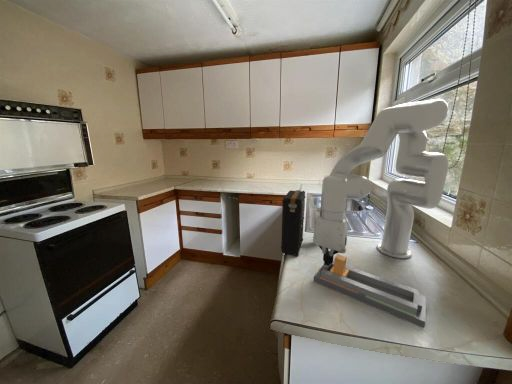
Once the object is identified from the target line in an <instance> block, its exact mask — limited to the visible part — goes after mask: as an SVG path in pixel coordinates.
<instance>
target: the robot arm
mask: <svg viewBox="0 0 512 384" xmlns="http://www.w3.org/2000/svg"><path fill="white" fill-rule="evenodd" d="M448 115H449V104H448V103H447V101H445V100H444V99H441V98H436V99H430V100H429V99H428V100H421V101H413V102H408V103H407V102H406V103H402V104H397V105H395V106H391V107H390V106H389V107H387V108H383V109H382V110H380V111H379V112H378V114H377V115H376V116H375V118H374V120H373V122H372V123H371V125H370V127H369V128H368V130H367V131H366V134H365V135H364V137H363V139H362V141H361V142H360V143H359V144H358V145H357V146H355V147H353V148H352V149H351V150H349V151H348V152H347V153H345V154H344V155H343V156H342V157H340V159H339V160H337V162H335V163H336V164H335V165H334V166H333V169H332V170H331V171H330V173H329V175H328V176H325V177H324V178H323V180H322V186H321V197H320V199H321V200H320V207H316V209H315V210H316V212H318V213H319V214H318V215H317V217H316V221H315V225H314V229H313V230H314V231H313V236H312V241H313V244H314V245H315V246H317V247H319V249H320V250H321V253H322V254H323V257H322V260H323V264H324V265H327V266H329V265H330V264H332V263H333V261H334V258H335V257H334V256H335V255H337V254H346V252H347V249H346V246H347V241H348V226H347V225H348V224H347V219H346V218H345V215H346V205H347V200H348V199H349V200H353V199H354V200H360V199H364V198H365V197H367V196H368V195H369V194H370V193H371V191H372V189H373V188H372V187H373V186H372V183H371V180H370V179H369V178H367V177H366V176H363V175H359V174H353V173H350V172H351V171H352V170H354V169H355V168H356V167H358V166H359V165H363V164H365V163H368V162H372V161H374V160H375V161H376V160H378V159H380V158H383V157H384V156H385V155H386V154H387V152H388V151H389V150H390V147H391V145H392V144H393V142H394V141H395V139H396V137H397V135H398V138H399V141H398V142H399V143H398V150H397V157H396V162H395V171H396V172H397V173H398V174H399V175H401V176H405V177H413V178H418V179H419V178H420V179H424V181H420V180H416V179H409V178H395V179H392V180H391V181H389V183H388V185H387V188H386V195H387V206H386V207H387V208H386V213H385V214H386V215H385V220H384V227H383V232H382V233H383V234H382V240H381V241H380V242H378V243H377V245H376V248H377V249H378V251H379V252H381V253H382V254H383V255H386V256H388V257H391V258H395V259H408V258H411V257H412V254H413V252H412V251H411V249H410V248H409V245H410V240H411V239H410V238H411V234H412V228H413V224H414V218H415V211H414V208H413V206H415V207H418V208H422V209H428V210H431V209H435V208H437V207H438V206H439V204H440V203H441V200H442V197H443V193H444V189H445V184H446V179H447V177H448V176H447V175H448V171H449V170H448V169H449V158H448V157H447V156H446V155H445V154H444V153H440V152H433V151H432V152H431V151H430V152H429V151H427V150H426V149H427V143H428V136H427V133H426V131H427V130H430V129H432V128H436V127H438V126H440V125H441V124H442V123H443V122H445V121H446V119H447V117H448Z"/></svg>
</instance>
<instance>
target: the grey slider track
mask: <svg viewBox="0 0 512 384" xmlns="http://www.w3.org/2000/svg"><path fill="white" fill-rule="evenodd" d="M333 266H334V260H333V263H332V264H330V265H329V266H327V265H324V263H323V264H322V266H321V267H320V268H319V270H318V271H317V272H316V273H314V275H313V282H314V283H317V284H319V285H321V286H323V287H326V288H329V289H331V290H333V291H336V292H338V293H339V294H343V295H345V296H347V297H350V298H352V299H354V300H356V301H359V302H362V303H364V304H366V305H368V306H370V307H373V308H376V309H378V310H380V311H382V312H385V313H387V314H389V315H392V316H393V317H397V318H399V319H401V320H403V321H406V322H409V323H410V324H413V325H415V326H417V327H420V328H422V329H425V326H426V321H427V320H426V317H427V316H426V314H427V313H426V312H427V311H426V310H427V297H426V296H423V295H422V294H419V291H420V290H418V289H416V288H413V287H409V286H407V285H404V284H401V283H398V282H395V281H393V280H389V279H387V278H383V277H381V276H378V275H375V274H371V273H369V272H366V271H363V270H361V269H357V268H354V267H351V266H349V265H346V269H347V270H349V275H348V276H347V278H346V277H343V276H340V275H338V274H335V273H332V272H330V270H331V269H332V267H333Z"/></svg>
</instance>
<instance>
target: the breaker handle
mask: <svg viewBox="0 0 512 384" xmlns="http://www.w3.org/2000/svg"><path fill="white" fill-rule="evenodd" d="M347 259H348V257H347V256H346V255H345V256H344V255H342V254H340V253H336V256H335V257H334V259H333V261H334V266H333V267H332V269H331V270H330V272H332V273H335V274H338V275H340V276H343V277H346V278H347V276H348V275H349V270H347V269H346V266H347Z"/></svg>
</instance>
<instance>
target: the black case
mask: <svg viewBox="0 0 512 384" xmlns="http://www.w3.org/2000/svg"><path fill="white" fill-rule="evenodd" d="M281 202H282V209H281V210H282V212H281V245H280V250H281V253H283V254H286V255H292V256H295V257H298V256H299V255H300V252H301V247H302V243H303V241H304V238H303V237H304V236H303V235H304V223H305V222H304V221H305V209H306V208H305V206H306V204H305V203H306V191H305V190H302V191H301V190H300V189H296V190H289V191H288V192H287V193H286V194H285V196H284V197H283V199H282V201H281Z"/></svg>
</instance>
